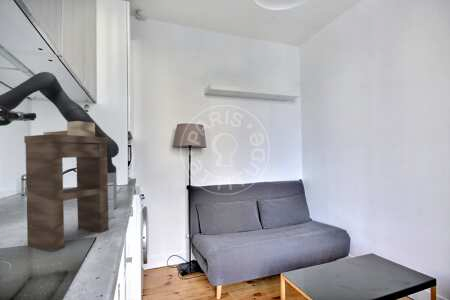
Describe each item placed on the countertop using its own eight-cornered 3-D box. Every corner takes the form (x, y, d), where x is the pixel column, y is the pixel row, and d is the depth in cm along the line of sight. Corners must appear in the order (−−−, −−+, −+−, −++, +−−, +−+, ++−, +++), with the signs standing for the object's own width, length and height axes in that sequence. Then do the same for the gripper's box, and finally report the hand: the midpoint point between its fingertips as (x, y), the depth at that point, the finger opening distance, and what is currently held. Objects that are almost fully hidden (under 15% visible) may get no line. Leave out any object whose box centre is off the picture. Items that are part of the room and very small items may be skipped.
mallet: (56, 139, 84) (55, 126, 84) (95, 137, 77) (94, 123, 77) (38, 139, 78) (37, 124, 78) (78, 136, 71) (77, 121, 71)
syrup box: (91, 220, 89) (90, 183, 89) (104, 216, 94) (103, 181, 94) (102, 221, 87) (101, 184, 87) (114, 217, 92) (113, 182, 92)
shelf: (84, 226, 82) (83, 138, 82) (109, 229, 77) (107, 137, 77) (26, 246, 65) (24, 136, 65) (54, 252, 60) (51, 134, 61)
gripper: (16, 127, 95) (43, 126, 90) (-31, 124, 82) (-3, 122, 77) (16, 109, 95) (42, 107, 90) (-31, 103, 82) (-3, 100, 76)
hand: (22, 114), depth 83 cm, fingers open, 8 cm apart
